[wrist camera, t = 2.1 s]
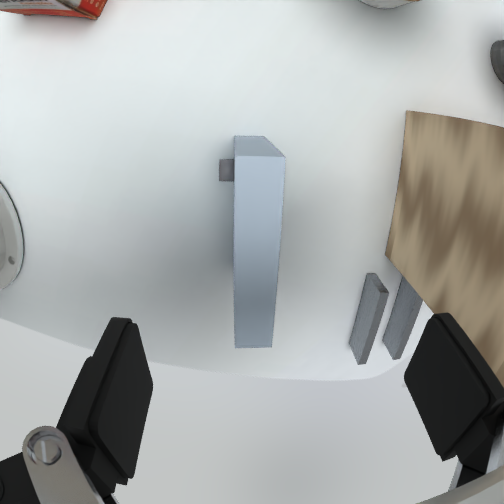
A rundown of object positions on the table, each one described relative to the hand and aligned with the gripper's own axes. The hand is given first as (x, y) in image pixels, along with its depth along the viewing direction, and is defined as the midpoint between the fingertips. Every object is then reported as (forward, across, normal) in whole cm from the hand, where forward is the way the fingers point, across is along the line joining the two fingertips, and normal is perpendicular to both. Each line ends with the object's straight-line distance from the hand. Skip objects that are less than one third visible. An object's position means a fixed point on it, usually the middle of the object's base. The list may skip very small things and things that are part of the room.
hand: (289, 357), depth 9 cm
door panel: (+15, +1, 0) cm, 15 cm away
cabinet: (+15, -19, -2) cm, 24 cm away
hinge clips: (+15, -12, +10) cm, 21 cm away
